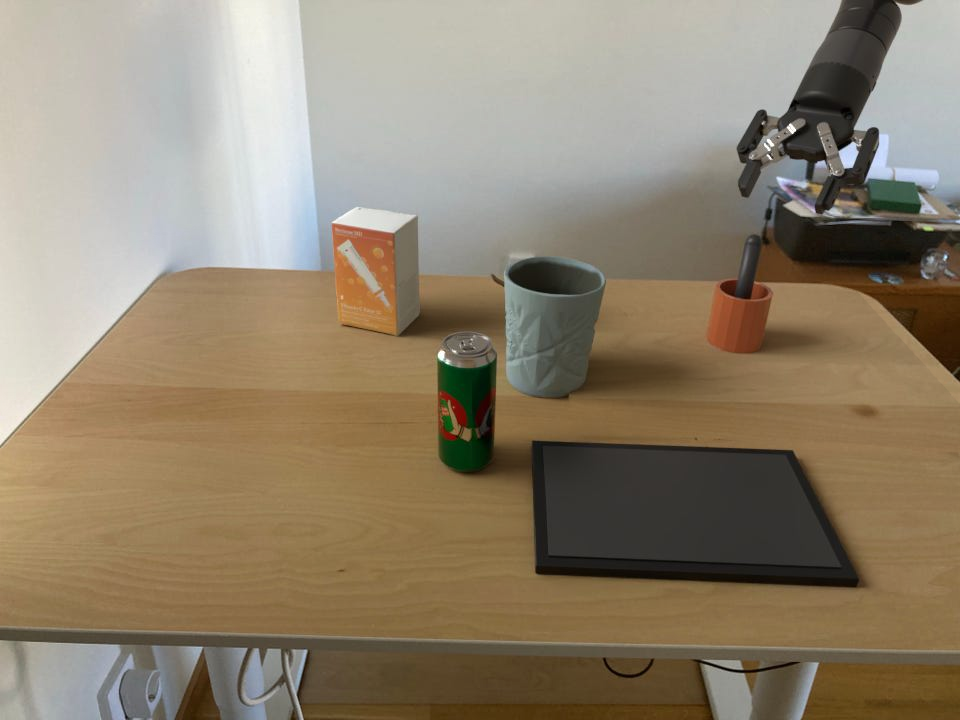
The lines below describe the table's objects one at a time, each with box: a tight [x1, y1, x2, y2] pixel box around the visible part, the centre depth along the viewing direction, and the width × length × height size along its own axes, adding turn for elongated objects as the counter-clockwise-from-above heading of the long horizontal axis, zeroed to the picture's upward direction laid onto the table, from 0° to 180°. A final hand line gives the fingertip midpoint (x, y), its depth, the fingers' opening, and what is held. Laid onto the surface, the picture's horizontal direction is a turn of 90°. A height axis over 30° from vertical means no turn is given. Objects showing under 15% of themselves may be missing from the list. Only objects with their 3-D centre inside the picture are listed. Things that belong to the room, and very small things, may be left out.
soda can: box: [436, 331, 498, 473], centre depth 68 cm, size 5×5×12 cm
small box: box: [331, 206, 421, 337], centre depth 91 cm, size 8×6×13 cm
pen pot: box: [705, 277, 774, 354], centre depth 89 cm, size 6×6×7 cm
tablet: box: [530, 439, 860, 588], centre depth 65 cm, size 24×16×1 cm, turn 88°
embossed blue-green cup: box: [503, 255, 607, 399], centre depth 81 cm, size 10×10×12 cm
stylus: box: [734, 233, 763, 299], centre depth 87 cm, size 2×2×13 cm
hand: (780, 202), depth 87 cm, fingers open, 8 cm apart
